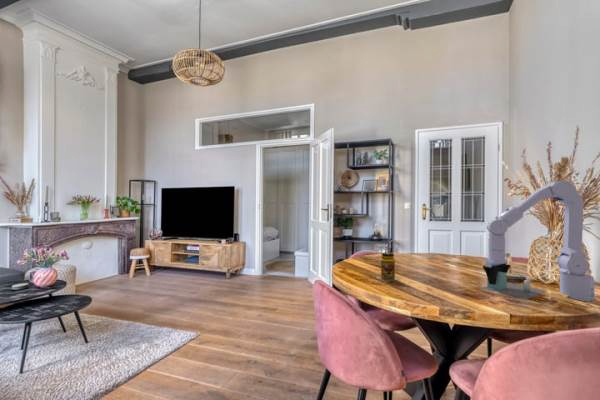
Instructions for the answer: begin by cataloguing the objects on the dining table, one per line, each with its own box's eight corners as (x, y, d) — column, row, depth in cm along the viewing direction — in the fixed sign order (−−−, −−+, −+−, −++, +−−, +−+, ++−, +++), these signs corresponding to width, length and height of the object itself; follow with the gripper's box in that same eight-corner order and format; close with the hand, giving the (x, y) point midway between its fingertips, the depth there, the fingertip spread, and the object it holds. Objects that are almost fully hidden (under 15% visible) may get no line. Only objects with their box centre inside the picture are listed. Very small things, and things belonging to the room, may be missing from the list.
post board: (546, 293, 119) (546, 280, 119) (527, 301, 109) (527, 287, 109) (501, 284, 132) (501, 272, 132) (480, 290, 122) (480, 278, 122)
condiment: (387, 281, 136) (387, 255, 136) (374, 277, 144) (374, 252, 144) (399, 279, 140) (399, 253, 140) (386, 276, 147) (386, 251, 147)
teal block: (506, 287, 123) (506, 273, 123) (500, 289, 120) (500, 274, 120) (493, 285, 127) (493, 270, 127) (487, 286, 124) (487, 272, 124)
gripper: (494, 246, 131) (494, 278, 131) (477, 249, 123) (477, 283, 123) (513, 249, 125) (513, 282, 125) (496, 251, 117) (496, 287, 117)
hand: (496, 283), depth 124 cm, fingers open, 7 cm apart
